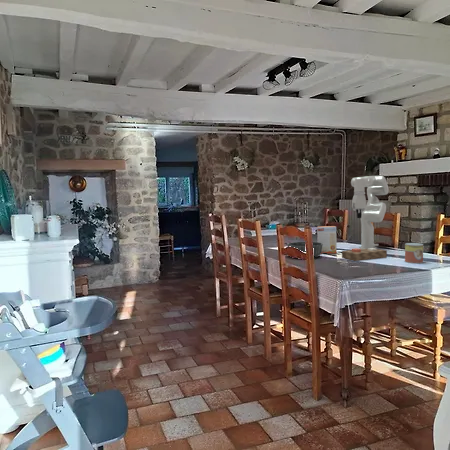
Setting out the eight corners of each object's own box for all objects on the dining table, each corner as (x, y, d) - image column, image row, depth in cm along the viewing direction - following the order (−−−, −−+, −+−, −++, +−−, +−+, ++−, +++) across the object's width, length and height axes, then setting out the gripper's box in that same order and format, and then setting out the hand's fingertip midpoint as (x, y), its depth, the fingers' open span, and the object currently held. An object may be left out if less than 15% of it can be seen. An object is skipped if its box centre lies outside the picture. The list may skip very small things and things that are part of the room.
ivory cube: (372, 254, 304) (372, 248, 304) (376, 254, 300) (376, 248, 299) (367, 254, 302) (367, 248, 302) (371, 255, 298) (371, 249, 298)
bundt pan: (283, 254, 322) (282, 241, 321) (315, 253, 325) (315, 240, 324) (292, 260, 295) (292, 246, 294) (328, 258, 299) (328, 245, 298)
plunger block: (373, 254, 310) (373, 248, 310) (386, 257, 297) (386, 250, 297) (342, 257, 300) (342, 251, 300) (354, 260, 287) (354, 253, 287)
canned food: (411, 263, 273) (411, 245, 271) (401, 260, 284) (401, 243, 282) (426, 262, 275) (427, 244, 274) (415, 259, 286) (416, 242, 285)
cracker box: (335, 252, 325) (335, 225, 323) (336, 253, 319) (336, 226, 317) (317, 252, 327) (317, 226, 325) (318, 253, 321) (318, 226, 319)
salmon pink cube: (356, 254, 299) (356, 248, 299) (360, 255, 295) (360, 249, 294) (351, 254, 297) (351, 248, 297) (355, 255, 293) (355, 249, 293)
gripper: (364, 193, 321) (363, 217, 323) (348, 194, 316) (348, 218, 317) (370, 193, 314) (370, 217, 316) (354, 194, 309) (354, 218, 310)
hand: (359, 217), depth 317 cm, fingers closed
